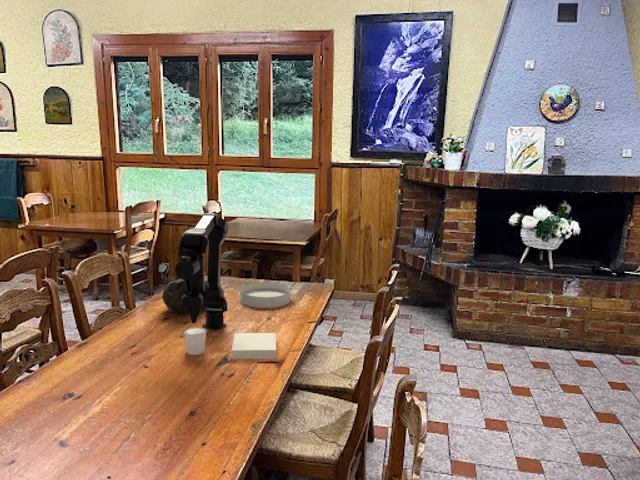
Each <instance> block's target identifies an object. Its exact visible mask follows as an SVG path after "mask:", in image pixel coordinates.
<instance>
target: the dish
mask: <svg viewBox="0 0 640 480" xmlns="http://www.w3.org/2000/svg"><path fill="white" fill-rule="evenodd" d="M239 291H240V293H239V302H240V303H241V304H242V305H244V306H246V307H250V308H251V307H252V308H256V309H273V308H279V307H284V306H286V305H288V304H289V303H290V302H291V288H290V287H289V286H288V285H285V284H282V283H277V282H264V281H263V282H255V283H254V282H253V283H250V284H246V285H244V286H242V287H240V290H239Z"/></svg>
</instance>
